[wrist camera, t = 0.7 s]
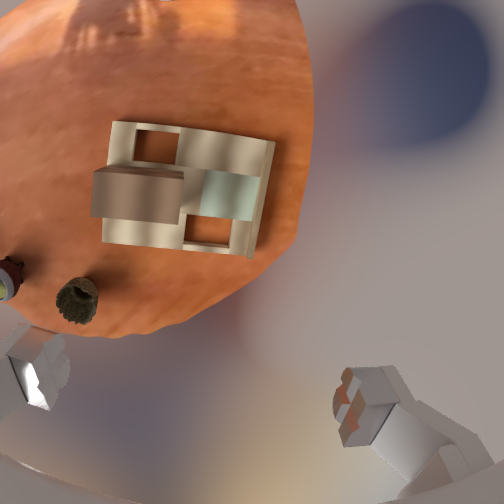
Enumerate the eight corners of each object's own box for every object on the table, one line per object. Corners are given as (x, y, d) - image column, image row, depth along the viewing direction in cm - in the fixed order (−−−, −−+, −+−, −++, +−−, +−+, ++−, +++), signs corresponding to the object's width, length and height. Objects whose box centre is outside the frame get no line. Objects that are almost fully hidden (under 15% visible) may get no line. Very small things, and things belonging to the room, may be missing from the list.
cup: (91, 309, 54) (81, 332, 47) (62, 285, 51) (48, 306, 44) (112, 284, 53) (103, 306, 46) (82, 258, 50) (69, 277, 43)
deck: (104, 238, 50) (100, 245, 47) (115, 121, 44) (110, 120, 40) (248, 252, 57) (253, 259, 54) (269, 141, 51) (275, 142, 47)
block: (106, 201, 46) (90, 216, 37) (110, 164, 44) (93, 171, 35) (178, 208, 49) (178, 225, 40) (183, 171, 47) (184, 179, 38)
